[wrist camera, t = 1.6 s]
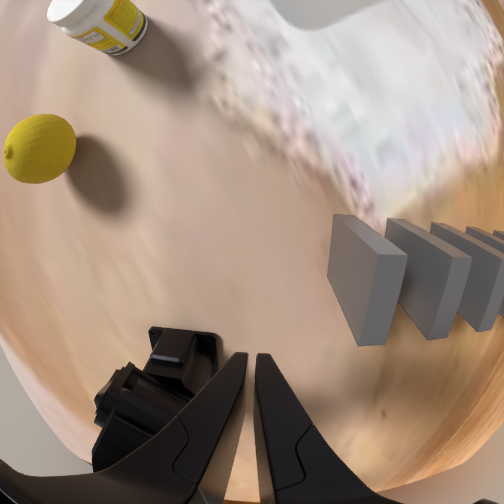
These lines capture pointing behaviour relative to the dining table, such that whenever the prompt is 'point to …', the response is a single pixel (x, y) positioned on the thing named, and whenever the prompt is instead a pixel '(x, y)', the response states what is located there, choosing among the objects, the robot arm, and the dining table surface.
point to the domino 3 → (477, 277)
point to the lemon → (39, 148)
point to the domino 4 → (491, 241)
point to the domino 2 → (429, 277)
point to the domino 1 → (365, 278)
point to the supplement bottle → (100, 23)
